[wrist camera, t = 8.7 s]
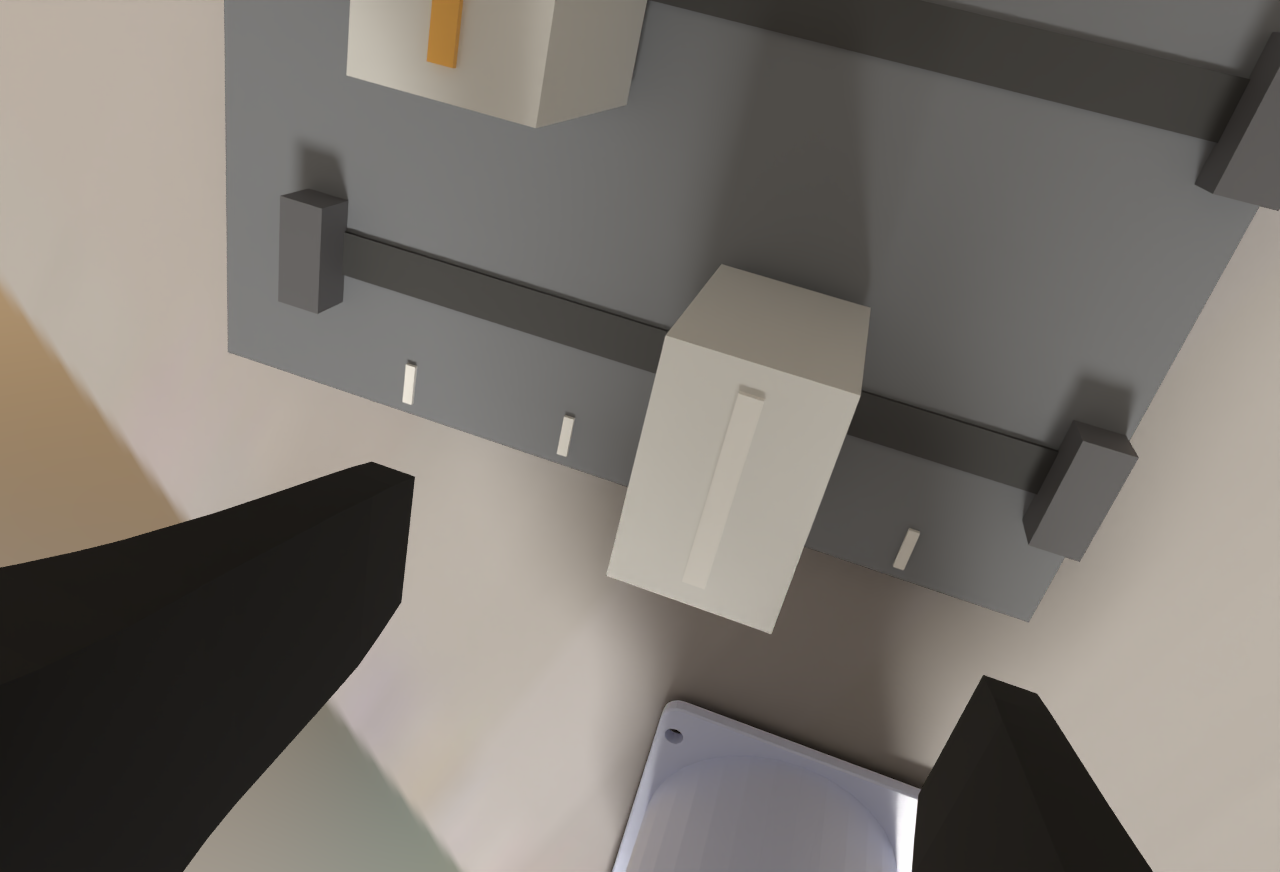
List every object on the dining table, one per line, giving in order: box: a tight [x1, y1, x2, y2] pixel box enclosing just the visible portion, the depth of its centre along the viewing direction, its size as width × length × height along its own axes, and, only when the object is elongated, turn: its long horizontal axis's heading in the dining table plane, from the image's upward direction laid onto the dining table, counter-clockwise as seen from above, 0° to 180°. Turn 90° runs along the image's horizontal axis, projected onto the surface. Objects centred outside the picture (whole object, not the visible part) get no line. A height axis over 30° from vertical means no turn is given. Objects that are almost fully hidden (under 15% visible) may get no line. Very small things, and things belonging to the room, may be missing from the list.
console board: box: [224, 0, 1280, 622], centre depth 17 cm, size 14×20×2 cm
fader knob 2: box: [606, 264, 871, 634], centre depth 16 cm, size 5×3×5 cm, turn 167°
